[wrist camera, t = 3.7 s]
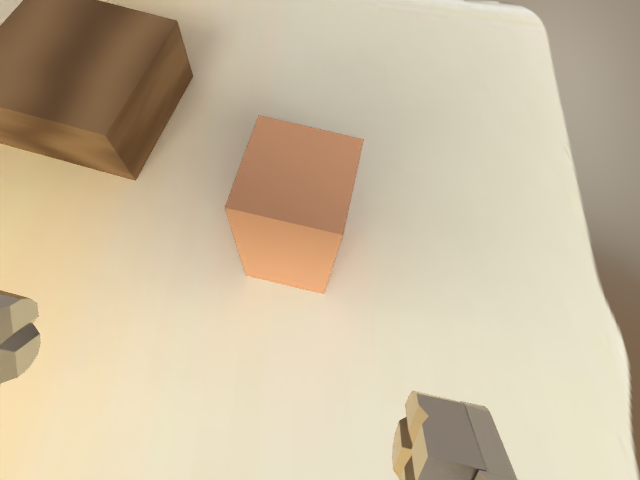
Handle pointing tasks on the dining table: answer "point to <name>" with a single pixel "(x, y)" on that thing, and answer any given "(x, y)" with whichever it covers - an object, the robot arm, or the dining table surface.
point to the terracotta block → (292, 202)
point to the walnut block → (89, 82)
